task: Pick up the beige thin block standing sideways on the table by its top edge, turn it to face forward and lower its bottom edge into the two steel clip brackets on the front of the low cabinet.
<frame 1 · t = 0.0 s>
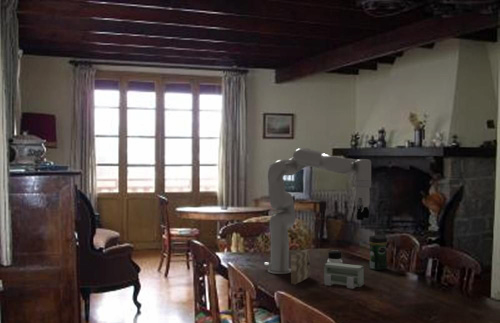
hand: (362, 218, 262), 31 cm above the table, tool pointing down, fingers open, 9 cm apart
coffee jar: (377, 269, 293), on the table
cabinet: (343, 283, 258), on the table
beige thin block: (300, 280, 264), on the table
container: (334, 276, 274), on the table
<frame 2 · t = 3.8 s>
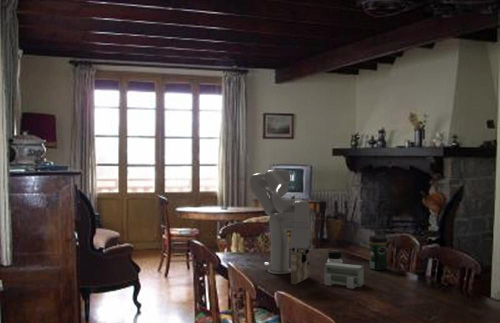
hand: (300, 261, 264), 9 cm above the table, tool pointing down, fingers closed on beige thin block, 2 cm apart
beige thin block: (300, 280, 265), on the table, touching gripper
everything else where it was.
when the fingers open (11 cm above the table, at t = 8.9 s): beige thin block drops 1 cm, resting on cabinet.
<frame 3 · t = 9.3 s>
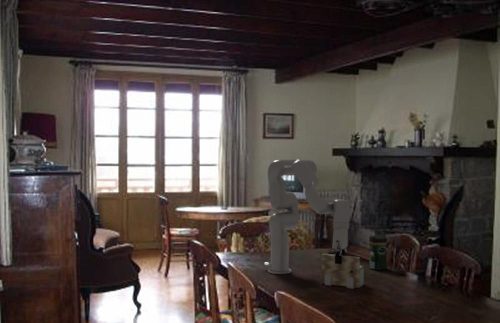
hand: (340, 262, 254), 11 cm above the table, tool pointing down, fingers open, 6 cm apart
beige thin block: (340, 284, 254), resting on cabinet
everything else where it was.
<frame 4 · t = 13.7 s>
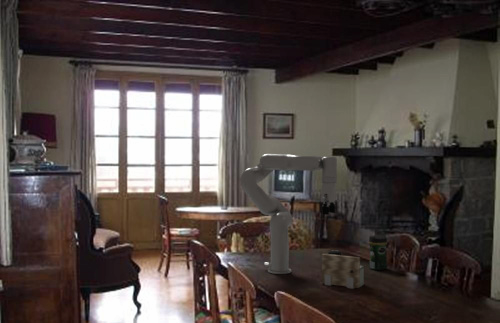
hand: (328, 213, 274), 32 cm above the table, tool pointing down, fingers open, 9 cm apart
nothing on the table moved.
at the end: beige thin block 0.3 cm from the target spot on the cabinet, point 0.3 cm above the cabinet's base; beige thin block tilted 0°; the gripper is holding nothing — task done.
